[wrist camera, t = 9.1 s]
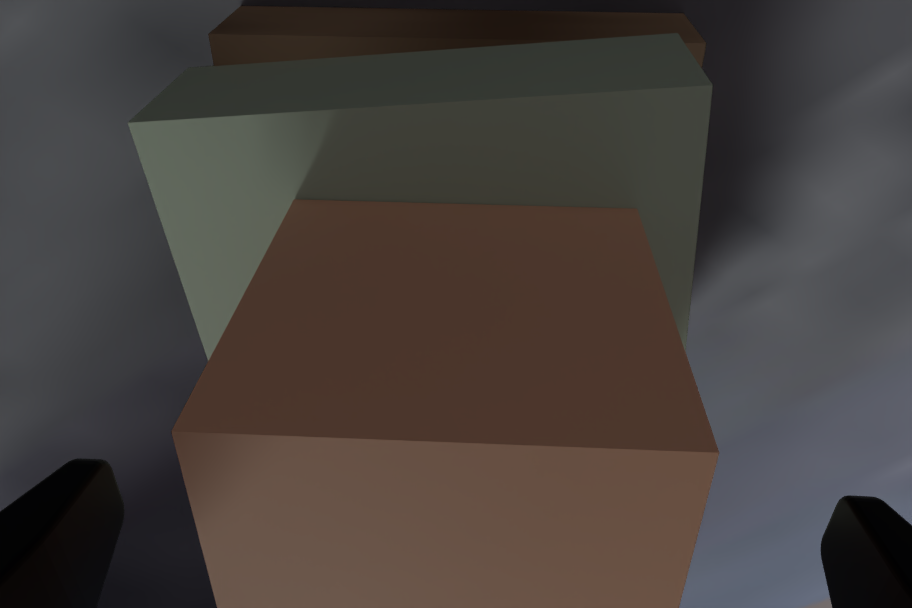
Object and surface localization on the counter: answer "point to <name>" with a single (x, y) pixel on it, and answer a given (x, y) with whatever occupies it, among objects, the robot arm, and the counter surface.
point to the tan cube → (449, 416)
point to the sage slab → (426, 147)
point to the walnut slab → (419, 31)
